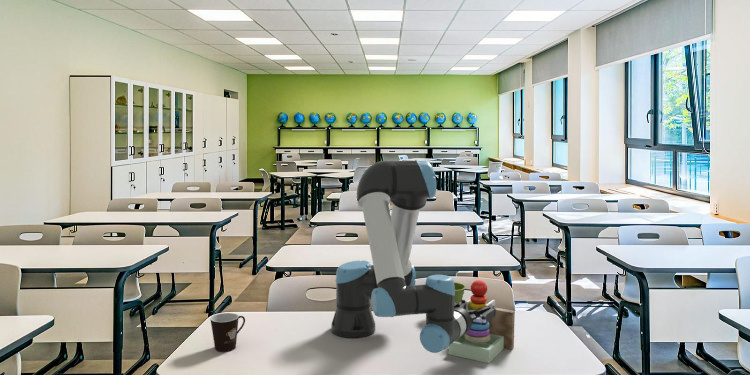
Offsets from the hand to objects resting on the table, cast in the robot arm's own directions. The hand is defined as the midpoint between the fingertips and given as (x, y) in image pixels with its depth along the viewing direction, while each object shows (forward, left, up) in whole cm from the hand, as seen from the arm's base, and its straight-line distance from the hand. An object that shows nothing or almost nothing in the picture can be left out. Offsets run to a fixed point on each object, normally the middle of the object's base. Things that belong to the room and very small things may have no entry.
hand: (484, 302), depth 180 cm
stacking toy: (0, -5, -11) cm, 12 cm away
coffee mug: (-68, -43, -14) cm, 82 cm away
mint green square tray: (0, -6, -14) cm, 15 cm away
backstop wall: (0, +2, -14) cm, 14 cm away
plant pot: (-21, +21, -14) cm, 33 cm away
